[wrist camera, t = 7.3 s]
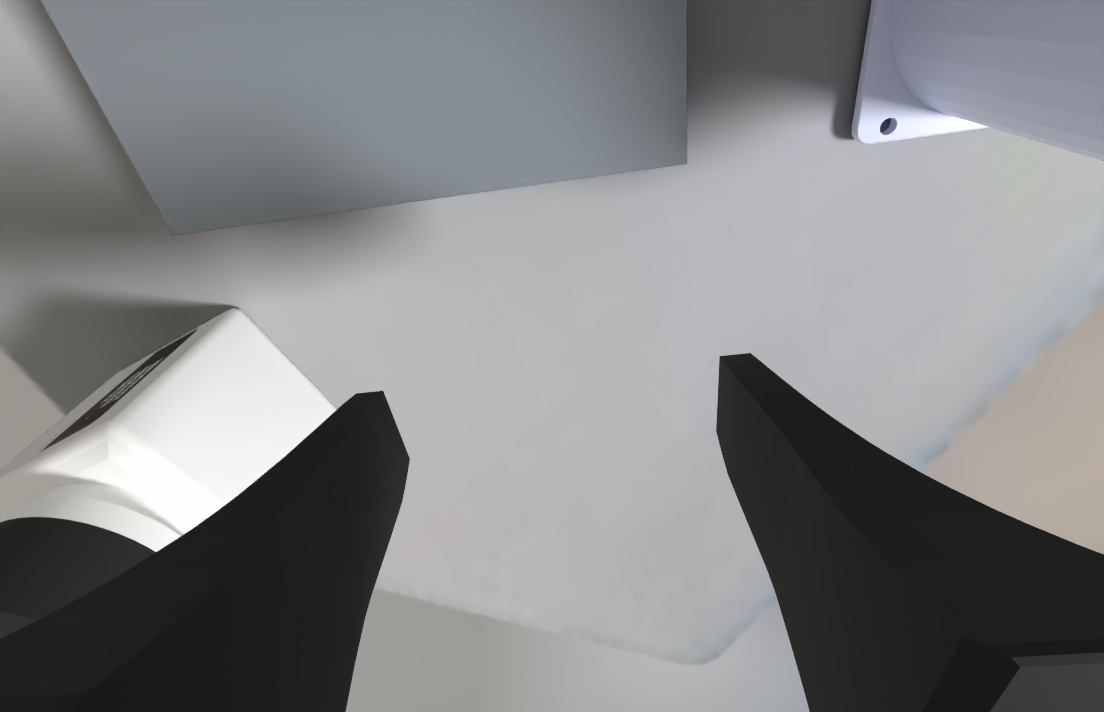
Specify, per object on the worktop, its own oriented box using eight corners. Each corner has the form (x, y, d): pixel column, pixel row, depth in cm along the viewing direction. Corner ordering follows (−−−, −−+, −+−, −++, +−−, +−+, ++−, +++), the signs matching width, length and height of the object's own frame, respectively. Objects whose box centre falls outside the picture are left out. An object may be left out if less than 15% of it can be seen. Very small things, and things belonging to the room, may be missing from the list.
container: (117, 371, 24) (-245, 669, 13) (239, 301, 22) (-74, 590, 11) (244, 477, 28) (42, 778, 17) (359, 427, 26) (211, 734, 15)
